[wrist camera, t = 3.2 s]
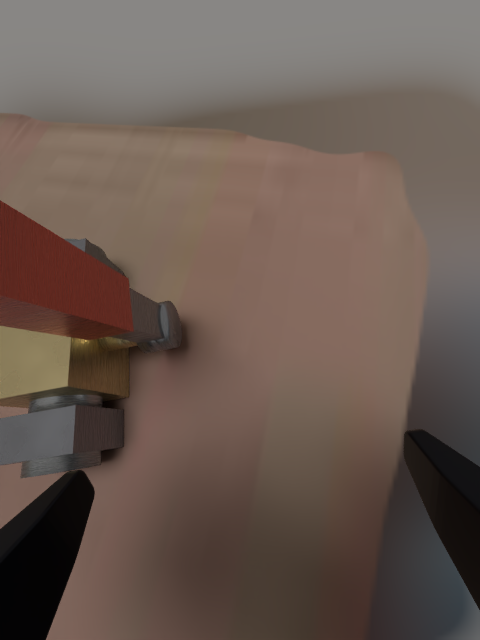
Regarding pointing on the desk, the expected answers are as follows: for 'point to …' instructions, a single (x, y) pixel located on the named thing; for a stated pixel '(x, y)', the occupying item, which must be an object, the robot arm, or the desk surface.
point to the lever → (73, 291)
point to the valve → (61, 395)
